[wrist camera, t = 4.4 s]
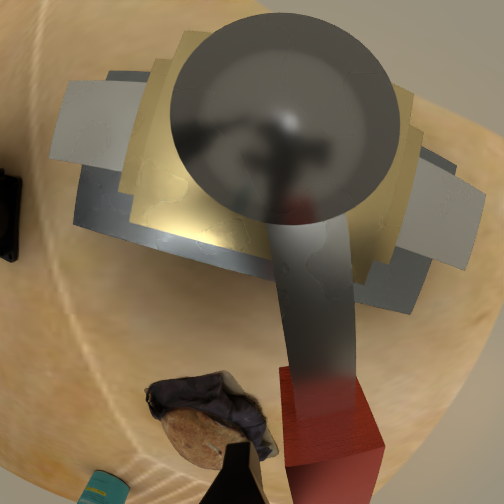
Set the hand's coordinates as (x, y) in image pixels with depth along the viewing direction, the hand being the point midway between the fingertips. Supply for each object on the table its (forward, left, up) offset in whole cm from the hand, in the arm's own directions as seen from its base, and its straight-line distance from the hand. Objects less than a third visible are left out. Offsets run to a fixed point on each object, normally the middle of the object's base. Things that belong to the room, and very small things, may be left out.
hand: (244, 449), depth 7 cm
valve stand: (+8, +1, -10) cm, 13 cm away
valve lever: (+4, -1, -1) cm, 4 cm away
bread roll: (-10, 0, -10) cm, 15 cm away
